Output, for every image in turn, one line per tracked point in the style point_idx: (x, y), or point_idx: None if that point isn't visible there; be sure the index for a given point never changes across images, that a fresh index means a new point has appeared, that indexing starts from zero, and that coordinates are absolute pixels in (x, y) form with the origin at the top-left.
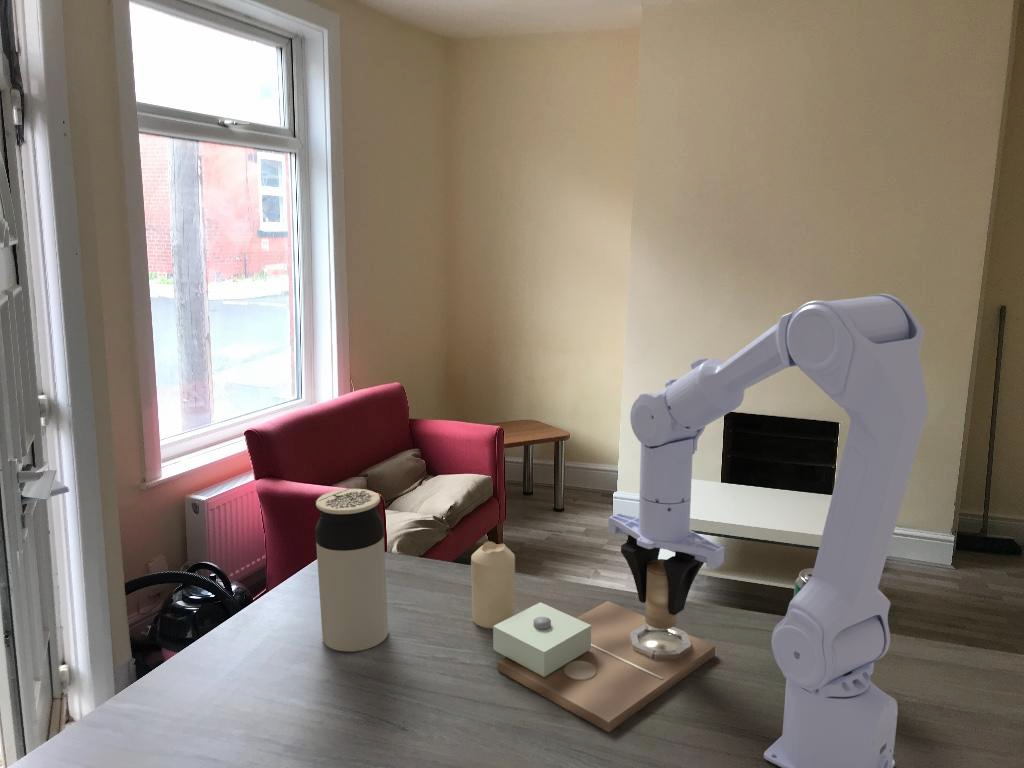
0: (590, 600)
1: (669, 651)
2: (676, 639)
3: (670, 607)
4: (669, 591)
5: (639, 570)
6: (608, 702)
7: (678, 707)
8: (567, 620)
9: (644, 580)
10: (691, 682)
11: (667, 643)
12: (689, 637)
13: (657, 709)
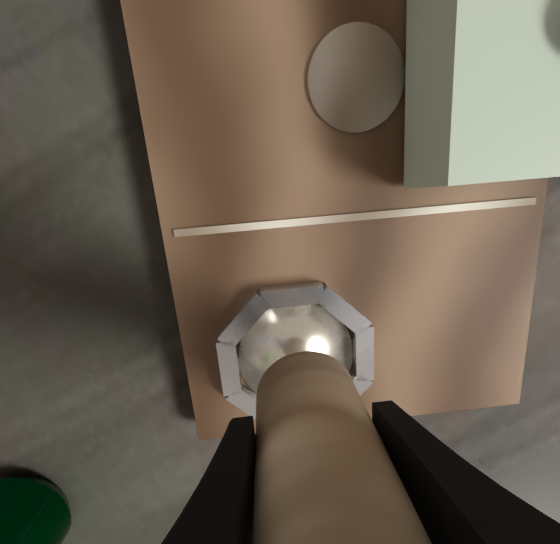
0: (556, 387)
1: (238, 334)
2: None
3: (237, 434)
4: (226, 502)
5: (479, 540)
6: (183, 12)
7: (102, 201)
8: (538, 141)
9: (423, 494)
10: (160, 305)
11: None
12: None
13: (126, 152)
